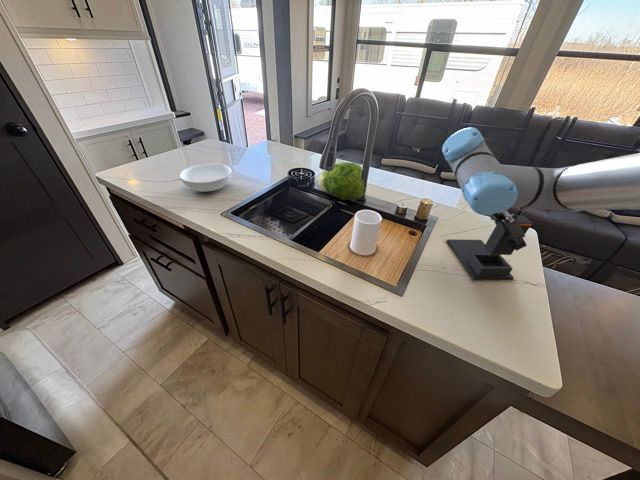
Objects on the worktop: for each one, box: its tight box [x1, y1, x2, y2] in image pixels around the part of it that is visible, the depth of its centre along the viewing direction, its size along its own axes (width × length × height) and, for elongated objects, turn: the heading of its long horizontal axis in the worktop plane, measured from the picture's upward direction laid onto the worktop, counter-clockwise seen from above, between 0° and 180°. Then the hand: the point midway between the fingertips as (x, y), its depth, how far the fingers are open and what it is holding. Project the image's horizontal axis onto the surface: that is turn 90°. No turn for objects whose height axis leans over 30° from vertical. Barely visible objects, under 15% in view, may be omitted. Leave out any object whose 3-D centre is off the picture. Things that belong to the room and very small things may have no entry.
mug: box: [349, 209, 383, 256], centre depth 81 cm, size 12×8×12 cm
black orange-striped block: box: [484, 214, 533, 256], centre depth 69 cm, size 4×6×11 cm, turn 92°
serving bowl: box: [179, 162, 233, 192], centre depth 111 cm, size 21×21×7 cm
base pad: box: [446, 239, 514, 281], centre depth 80 cm, size 18×12×4 cm, turn 2°
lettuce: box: [317, 161, 368, 201], centre depth 108 cm, size 16×21×15 cm
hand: (515, 242), depth 71 cm, fingers closed on black orange-striped block, 3 cm apart
